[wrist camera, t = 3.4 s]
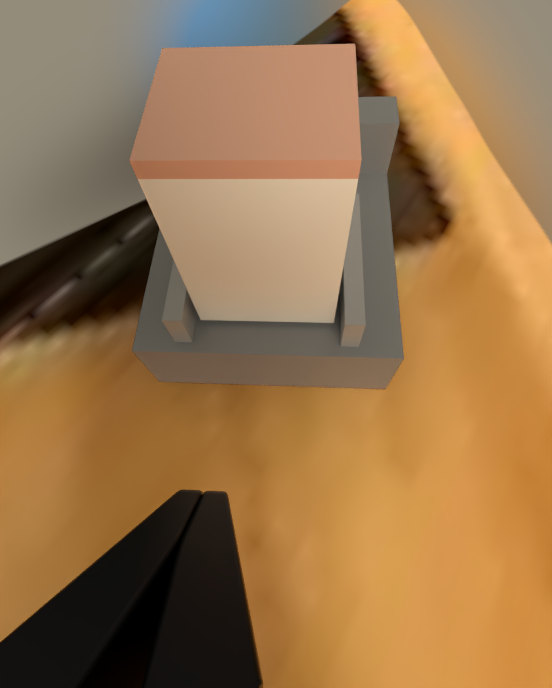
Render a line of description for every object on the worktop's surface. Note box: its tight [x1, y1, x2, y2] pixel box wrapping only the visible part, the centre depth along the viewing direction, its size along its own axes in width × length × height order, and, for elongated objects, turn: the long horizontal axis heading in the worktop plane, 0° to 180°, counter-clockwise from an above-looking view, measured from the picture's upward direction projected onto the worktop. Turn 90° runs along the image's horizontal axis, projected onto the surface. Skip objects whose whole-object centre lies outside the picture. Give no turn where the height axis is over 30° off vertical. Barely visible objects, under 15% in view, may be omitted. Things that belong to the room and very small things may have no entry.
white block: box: [129, 44, 362, 323], centre depth 15 cm, size 5×6×9 cm
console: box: [132, 97, 404, 389], centre depth 21 cm, size 14×12×7 cm
